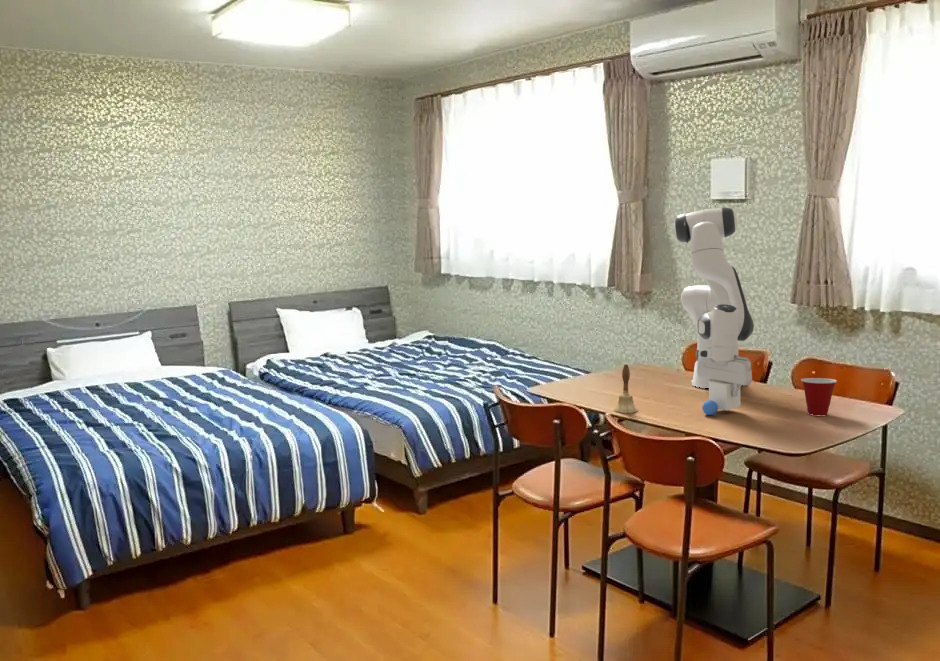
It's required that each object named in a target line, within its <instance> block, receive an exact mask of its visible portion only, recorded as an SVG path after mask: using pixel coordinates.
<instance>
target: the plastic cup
mask: <svg viewBox="0 0 940 661" xmlns="http://www.w3.org/2000/svg"><path fill="white" fill-rule="evenodd" d="M800 381H801V383H802V387H803V389H804V396H805V404H806V409H807V413H809V414H813V415H826V416H828V414H829V410H830V408H829V407H830V406H831V405H830V404H831V401H832V396H833V392H834V388H835V387H836V386H835V385H836V383H838V382H837V380H836V379H835V378H834V379H833V378H825V377H824V378H822V377H810V378H809V377H808V378H806V377H805V378H800ZM809 414H808V415H809Z"/></svg>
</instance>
